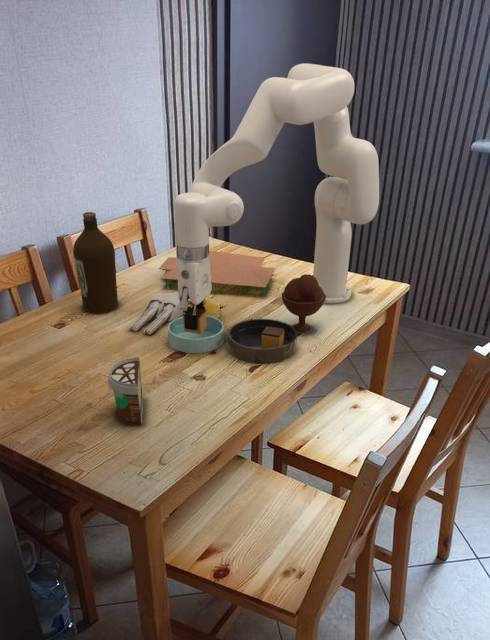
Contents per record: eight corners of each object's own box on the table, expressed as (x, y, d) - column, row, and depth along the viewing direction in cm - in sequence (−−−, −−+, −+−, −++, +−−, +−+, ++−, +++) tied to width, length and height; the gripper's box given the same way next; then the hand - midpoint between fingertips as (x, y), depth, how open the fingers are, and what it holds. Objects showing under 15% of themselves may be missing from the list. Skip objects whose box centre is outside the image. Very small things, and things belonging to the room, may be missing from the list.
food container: (114, 398, 144) (109, 356, 138) (143, 397, 144) (139, 355, 138) (110, 430, 134) (104, 387, 128) (141, 428, 134) (137, 385, 129)
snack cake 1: (190, 325, 166) (189, 306, 163) (206, 327, 164) (206, 309, 162) (183, 331, 163) (183, 313, 160) (200, 334, 161) (200, 315, 159)
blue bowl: (182, 326, 173) (181, 311, 170) (232, 334, 169) (232, 319, 167) (159, 349, 162) (158, 334, 160) (212, 359, 158) (211, 343, 156)
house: (176, 260, 212) (175, 235, 207) (279, 269, 206) (280, 243, 201) (153, 288, 193) (151, 260, 189) (265, 298, 188) (266, 270, 183)
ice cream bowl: (328, 325, 174) (333, 269, 165) (313, 342, 165) (318, 284, 157) (290, 317, 177) (292, 262, 168) (274, 334, 169) (276, 277, 160)
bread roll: (203, 325, 173) (203, 311, 171) (182, 314, 179) (182, 300, 176) (228, 317, 178) (227, 303, 175) (207, 306, 183) (206, 292, 181)
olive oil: (115, 296, 189) (104, 205, 174) (124, 310, 181) (115, 217, 166) (77, 302, 185) (63, 210, 171) (85, 317, 177) (72, 222, 163)
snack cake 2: (266, 344, 164) (266, 326, 161) (283, 346, 163) (284, 328, 160) (261, 351, 161) (261, 332, 158) (278, 354, 160) (279, 335, 157)
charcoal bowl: (241, 330, 171) (241, 314, 169) (304, 339, 167) (305, 324, 164) (218, 358, 159) (217, 342, 156) (285, 370, 154) (286, 354, 152)
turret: (124, 336, 173) (121, 321, 169) (165, 298, 185) (162, 283, 182) (157, 345, 169) (154, 329, 166) (196, 305, 181) (194, 289, 178)
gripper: (193, 265, 145) (196, 342, 155) (221, 241, 158) (221, 314, 168) (162, 261, 147) (166, 337, 157) (191, 238, 160) (194, 309, 170)
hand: (195, 324), depth 163 cm, fingers closed on snack cake 1, 4 cm apart
